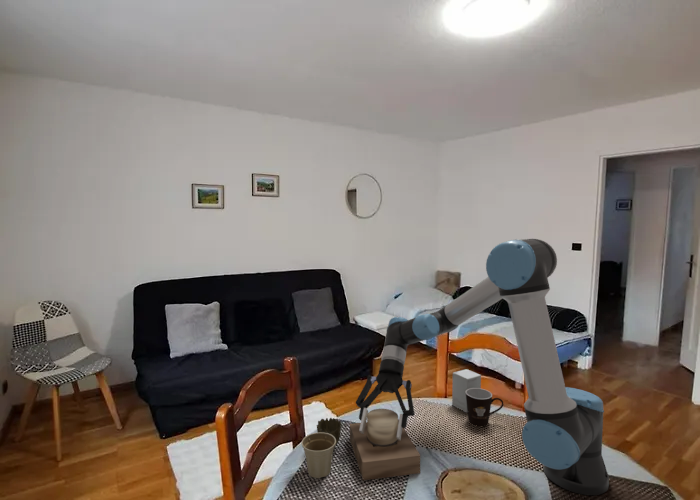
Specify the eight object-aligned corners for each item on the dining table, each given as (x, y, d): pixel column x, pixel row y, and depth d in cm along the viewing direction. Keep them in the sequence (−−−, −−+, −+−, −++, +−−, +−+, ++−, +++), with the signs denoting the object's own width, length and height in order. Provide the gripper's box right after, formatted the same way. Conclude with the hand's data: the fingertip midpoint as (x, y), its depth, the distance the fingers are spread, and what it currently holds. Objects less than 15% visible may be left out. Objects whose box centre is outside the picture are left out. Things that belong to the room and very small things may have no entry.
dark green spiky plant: (338, 457, 113) (338, 431, 112) (314, 454, 114) (313, 428, 114) (343, 443, 120) (343, 418, 120) (320, 440, 122) (320, 416, 121)
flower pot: (304, 460, 112) (304, 431, 111) (337, 461, 111) (337, 432, 111) (299, 482, 102) (299, 451, 102) (335, 483, 102) (334, 451, 101)
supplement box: (466, 413, 138) (466, 379, 137) (451, 405, 145) (451, 372, 144) (481, 408, 142) (481, 374, 141) (465, 400, 148) (466, 368, 147)
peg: (402, 459, 110) (402, 422, 110) (371, 463, 109) (370, 425, 108) (393, 441, 119) (393, 407, 119) (364, 445, 118) (364, 410, 117)
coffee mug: (461, 423, 131) (461, 395, 131) (469, 413, 138) (470, 386, 138) (497, 434, 125) (497, 403, 124) (503, 422, 132) (504, 394, 131)
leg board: (420, 473, 106) (420, 455, 105) (362, 480, 103) (362, 462, 103) (398, 433, 125) (398, 418, 125) (349, 439, 123) (349, 423, 122)
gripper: (429, 372, 123) (421, 446, 110) (361, 364, 131) (345, 432, 117) (427, 361, 118) (417, 438, 104) (356, 353, 126) (339, 424, 112)
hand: (379, 435), depth 111 cm, fingers open, 10 cm apart
